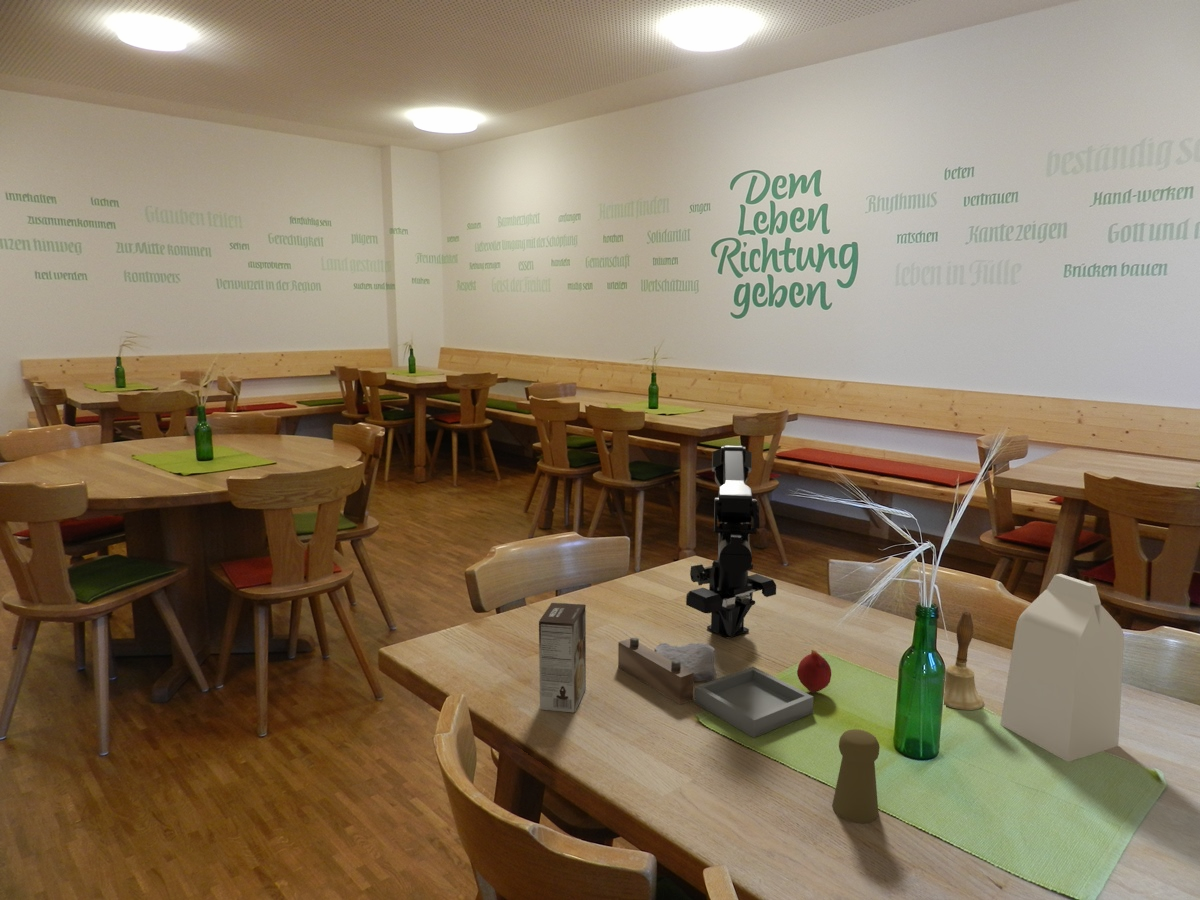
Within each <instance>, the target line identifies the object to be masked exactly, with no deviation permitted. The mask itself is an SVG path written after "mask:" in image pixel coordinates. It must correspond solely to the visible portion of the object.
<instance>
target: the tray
mask: <svg viewBox="0 0 1200 900" xmlns="http://www.w3.org/2000/svg"><path fill="white" fill-rule="evenodd" d="M814 697H815V696H813V695H811V694H809V693H807V692H805V691H803V690H801V689H799V688H797V687H796V686H793V685H791V684H789V683H787V682H785V681H783V680H782V679H779V678H777V677H775V676H773V675H771V674H769V673H767V672H765V671H763V670H761V669H759V668H757V667H755V666H751V667H748V668H745V669H742V670H740V671H739V670H738V671H737V672H733V673H730V674H727V675H724V676H722V677H719V678H715V680H711V681H706V682H705V683H702V684H699V685H697V686H694V703H695V705H698V706H699V707H701V708H703V709H704V710H706V711H708V712H710V713H711V714H713V715H714V716H716V717H718V718H719V719H720V720H723V721H724V722H726V723H727V724H730V725H731V726H733V727H734V728H736V729H738V730H739V731H740V732H743V733H744V734H746V735H748V736H750V737H751V738H753V739H754V738H757V737H759V736H761V735H765V734H766V733H769V732H771V731H774V730H776V729H778V728H781V727H783V726H786V725H788V724H790V723H793V722H795V721H797V720H799V719H802V718H804V717H807V716H809V715H811V714H813V712H814Z"/></svg>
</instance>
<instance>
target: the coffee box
mask: <svg viewBox="0 0 1200 900" xmlns="http://www.w3.org/2000/svg"><path fill="white" fill-rule="evenodd" d="M586 607H587V605H586V604H585V603H584V604H582V603H581V604H580V603H567V602H566V603H564V602H561V603H560V602H551V603H550V605H549V606H548V607H547V609H546V611H545V612H544V613H543V615H542V616H541V618H540V619H539V621H538V643H539V644H538V650H539V651H538V655H539V657H538V659H539V660H538V661H539V663H538V664H539V709H540V710H542V711H543V710H544V711H554V712H565V713H575V712H576V711H577V708H578V707H579V704H580V703H581V700H582V698H583V696H584V693H585V691H586V689H587V679H586V677H587V670H586V668H587V666H586V664H587V663H586V661H587V655H586V654H587V652H586V651H587V650H586V648H587V645H586V638H587V637H586V635H587V634H586V633H587V632H586V625H587V624H586V623H587V622H586V621H587V620H586V619H587V618H586V612H587V611H586V610H587V609H586Z"/></svg>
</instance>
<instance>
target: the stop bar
mask: <svg viewBox="0 0 1200 900" xmlns="http://www.w3.org/2000/svg"><path fill="white" fill-rule="evenodd" d="M639 641H640V640H639V638H638V637H631V638H628V639H624V640H621V641H618V650H617V651H618V654H617V655H618V657H617V658H618V660H617V661H618V663H617V664H618V667H617V668H619V669H621V670H622V671H625V672H626V673H628V674H629V675H631V676H633V677H634V678H636V679H638V680H639V681H641V682H642V683H644V684H646V685H647V686H649V687H650V688H652V689H654V690H655V691H657V692H659V693H661V694H662V695H664V696H665V697H666V698H668V699H670V700H672V701H674V702H675V703H677V704H679V705H682V704H685V703H688V702H691V701H693V700H694V682H695V681H694V673H693V672H691V671H689V670H688V669H686V668H684V667H682V666H681V662H680V661H677V660H674V661H671V660H669V659H668V658H666V657H664V656H662V655H660V654H659V653H657V652H655V651H654V650H653V649H651V648H650V647H648V646H646V645H644V644H642V643H641V642H639Z"/></svg>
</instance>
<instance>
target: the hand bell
mask: <svg viewBox="0 0 1200 900" xmlns="http://www.w3.org/2000/svg"><path fill="white" fill-rule="evenodd" d="M973 635H974V623H973V619H972V614H971V612H970V611H963V612H962V614H961V616H960V618H959V619H958V623H957V625H956V641H957V645H958V647H957V653H956V658H955V659H956V660H955V664H953V665H949V666H947V667H946V670H945V674H946V681H945V693H944V704H943V706H946V707H948V708H951V709H952V708H953V709H956V710H962V711H964V710H965V711H975V710H980V709H981V708H983V707H984V704H985V701H984V700H983V699H984V698H983V697H982V696H981V695H980V694H979V693H978V690H977V687H976V682H975V681H976V680H975V672H974V671H973V670H972V669H971V668H969V667H968V666H967V662H968V651H969V650H968V649H969V646H970V644H971V642H972V639H973Z"/></svg>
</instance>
